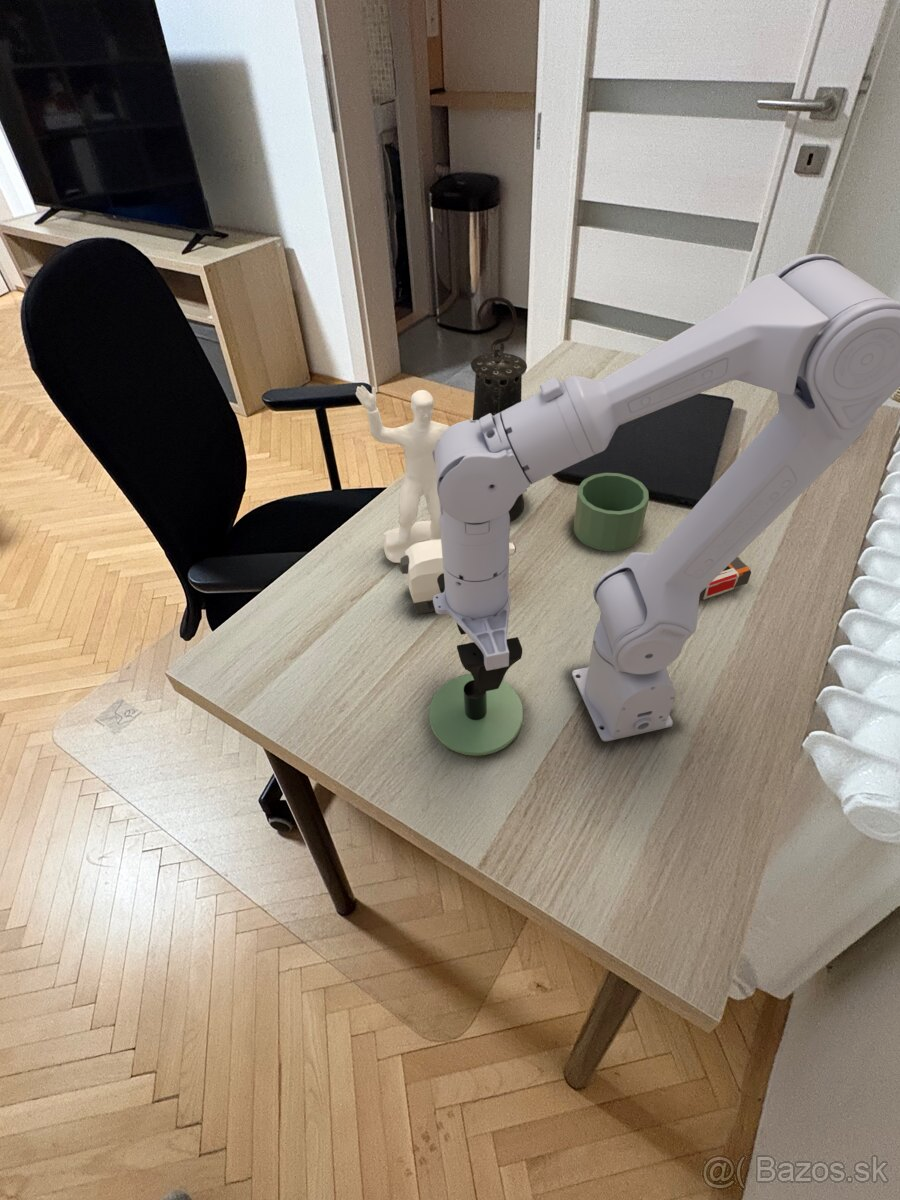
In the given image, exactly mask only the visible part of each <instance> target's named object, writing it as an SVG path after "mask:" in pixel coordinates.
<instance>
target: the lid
mask: <svg viewBox="0 0 900 1200" xmlns="http://www.w3.org/2000/svg"><path fill="white" fill-rule="evenodd" d="M428 718H429V719H428V720H429V725H430V727H431V730H432V732H433V734H434V736H435V737H436V739H437V740H439V742H440V743H441V744H443V746H445V747H446V748H447V749H449V750H451V751H453V752H456V753H458V754H462V755H465V756H486V755H491V754H494V753H496V752H499V751H501V750H503V749H504V748H506V747H507V746H509V744H511V743H512V742H513V741H514V740H515V739H516V738H517V736H518V734H519V732H520V731H521V728H522V725H523V720H524V708H523V703H522V699H521V698H520V696H519V694H518V692H517V691H515V689H514V688H513V687H512V686H511V685H510V684H508V682H506V681H504V679H503V680H502V682H501V684H500V686H499V688H498V689H495V690H490V691H485V692H479V691H478V690H477V688H476V685H475V682H474V679H473V676H472V674H471V673H467V674H463V675H458V676H457V677H454V678H452V679H450V680H448V681H447V682H445V683H444V684H442V685H441V686H440V687H439V688H438V689H437V691H436V692H435V694H434V695H433V697H432V699H431V701H430V705H429V710H428Z"/></svg>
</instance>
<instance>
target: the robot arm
mask: <svg viewBox="0 0 900 1200" xmlns="http://www.w3.org/2000/svg"><path fill="white" fill-rule="evenodd" d="M732 381H738V382H742V383H746V384H749V385H753V386H755V387H759V388H763V389H766V390H769V391H772V392H776V395H777V404H778V411H777V413H776V414H775V415H774V417H772V419H771V420H770V421H769V422H768V423H766V425H765V427H764V428H763V429H762V430H761V431H760V432H759V433H758V434H757V435H756V437H755V438H754V439H753V440H752V441H751V442H750V443H749V444H748V445H747V447H746V448H745V449H744V450H743V451H742V452H741V453H740V454H739V456H738V457H737V458H736V459H735V460H733V462H732V464H731V465H730V466H728V468H727V469H726V470H725V471H724V472H723V473H722V475H720V477H719V478H718V479H717V480H716V482H714V484H713V485H712V486H711V487H710V488H709V489H708V490H707V492H706V493H705V494H704V495H703V496H702V497H701V498H700V499H699V501H697V503H696V504H695V505H694V506H693V507H692V509H690V510H689V512H688V513H687V514H686V515H685V516H684V517H683V518H682V519H681V521H680V522H679V523H678V524H677V525H676V526H675V527H674V528H673V530H671V532H670V533H669V534H668V535H667V537H666V538H665V539H664V540H663V541H662V542H661V543H660V544H659V545H658V546H657V548H656V549H655V550H654V551H653V552H652V553H649V552H637V551H633V552H631V553H630V554H629V555H628V556H627V557H626V558H625V559H624V560H623V561H622V562H621V563H620V564H619V565H617V566H616V567H613V568H612V569H610V570H608V571H606V572H605V573H603V574H602V575H601V576H600V577H599V578H598V579H597V581H596V582H595V584H594V586H593V591H592V594H593V598H594V601H595V602H596V603H595V604H596V605H597V606H598V608H599V612H600V615H599V620H598V622H597V623H596V626H595V628H594V633H593V638H592V643H591V644H592V645H591V651H590V655H589V662H588V666H587V667H582V668H577V669H573V670H572V671H571V677H572V679H573V681H574V683H575V685H576V687H577V689H578V692H579V694H580V697H581V698H582V700H583V703H584V705H585V707H586V709H587V712H588V713H589V715H590V718H591V720H592V723H593V725H594V727H595V729H596V731H597V734H598V736H599V738H600V740H601V741H602V742H605V743H606V742H611V741H616V740H619V739H624V738H628V737H632V736H637V735H642V734H645V733H649V732H656V731H658V730H663V729H667V728H670V727H672V726H673V724H674V721H673V719H672V717H671V716H670V715H671V714H670V713H671V711H672V708H673V705H674V703H675V699H676V697H677V692H676V689H675V686H674V684H673V682H672V680H671V677H670V676H669V672H668V669H667V668H668V667H669V666H671V665H672V664H673V663H674V662H675V661H676V660H677V659H678V658H679V656H680V655H681V653H682V650H683V647H684V645H685V643H686V642H687V640H689V638H691V637H692V636H693V635H694V634H695V633H696V631H697V627H698V617H699V616H698V614H699V606H700V605H699V604H700V603H699V602H700V599H699V596H700V593H701V592H702V591H703V590H704V589H705V588H706V587H707V586H708V585H709V584H710V583H711V582H712V581H713V580H714V579H715V578H716V577H717V576H718V575H719V574H720V573H721V572H722V571H723V570H724V569H725V568H726V567H727V566H728V565H729V564H730V563H731V562H732V561H733V560H734V559H735V558H736V557H737V556H740V555H741V554H742V553H743V552H744V551H745V549H747V548H748V547H749V546H750V545H751V544H752V543H753V542H754V541H755V540H756V539H757V538H758V537H759V536H760V535H762V533H763V532H764V531H765V530H766V529H767V528H768V527H769V526H770V525H771V524H772V523H773V522H775V521H776V519H777V518H778V517H779V516H780V515H781V514H783V513H784V511H786V509H788V507H790V506H791V505H792V504H793V503H794V502H795V501H796V500H797V499H798V498H799V497H800V496H801V495H802V494H803V493H804V492H805V491H806V490H807V489H808V488H810V486H811V485H812V484H813V483H814V482H816V480H817V479H818V478H819V477H821V475H822V474H823V473H824V472H825V471H826V470H828V469H829V467H830V466H831V465H833V464H834V462H836V460H838V459H839V457H840V456H842V455H843V454H844V453H845V452H846V451H847V450H848V449H849V448H850V447H851V446H853V444H854V443H855V442H856V441H857V440H858V439H859V438H860V437H861V436H862V434H863V433H864V432H865V431H866V430H867V428H868V426H869V425H870V423H871V421H872V420H873V418H874V416H875V415H876V413H877V411H878V409H879V408H880V407H882V405H884V404H885V402H887V401H888V399H889V398H891V397H892V396H893V395H894V393H895V392H897V390H899V389H900V301H899V300H896V299H893V298H891V297H890V296H888V295H886V293H884V292H882V291H881V290H880V289H878V288H877V287H875V286H873V285H872V284H870V283H868V282H867V281H866V280H864V279H863V278H861V277H860V276H858V275H857V274H855V273H854V272H852V271H851V270H849V269H848V268H847V267H846V266H845V265H844V263H842V261H841V260H839V259H838V258H837V257H834V256H833V255H830V254H826V253H811V254H807V255H803V256H801V257H798V258H795V259H793V260H791V261H790V262H788V263H787V264H785V265H784V266H783V267H781V268H780V269H778V271H776V272H771V273H768V274H765V275H761V276H760V277H757V278H754V279H753V280H752V281H750V282H749V284H748V285H747V286H746V287H745V288H743V290H742V291H741V292H740V293H739V294H738V295H737V296H736V297H735V298H734V300H733V301H732V302H730V303H729V304H728V305H727V306H725V307H723V308H722V309H720V310H718V311H716V312H714V313H713V314H711V315H709V316H708V317H706V318H704V319H703V320H701V321H699V322H698V323H696V324H694V325H692V326H691V327H689V328H687V329H686V330H684V331H682V332H680V333H679V334H677V335H675V336H674V337H672V338H670V339H668V340H667V341H665V342H663V343H662V344H659V345H658V346H656V347H655V348H653V349H651V350H649V351H647V352H646V353H644V354H642V355H640V356H639V357H637V358H635V359H634V360H632V361H630V362H629V363H626V364H625V365H624V366H621V367H620V368H618V369H616V370H615V371H613V372H611V373H610V374H608V375H606V376H605V377H602V378H600V379H594V378H590V377H587V376H582V375H577V374H572V375H570V376H569V377H567V378H564V379H563V380H560V381H559V378H558V377H557V376H553V377H551V378H549V379H547V380H545V381H543V382H541V383H540V384H539V388H540V391H539V392H537V393H535V394H533V395H531V396H529V397H527V398H525V399H523V400H521V402H519V403H517V404H515V405H513V406H511V407H509V408H507V409H505V410H504V411H502V412H500V413H498V414H496V415H494V416H492V414H491V413H489V414H488V415H486V416H484V417H482V418H480V419H479V420H473V419H471V420H470V419H465V420H462V421H459V422H456V423H453V424H452V425H450V426H449V428H447V429H446V430H445V431H444V432H443V433H442V434H441V439H438V440H437V443H436V446H435V449H434V450H433V452H432V454H433V459H434V462H435V469H436V483H437V493H438V497H439V503H440V512H441V514H440V532H441V545H442V557H443V569H444V573H442V574H441V575H439V576H438V578H437V582H438V585H439V589H440V592H441V594H437V595H434V597H433V600H432V604H433V605H434V612H435V614H437V615H441V616H443V615H449V616H450V617H451V618H452V619H453V620H454V622H455V623H456V626H457V629H458V631H459V633H460V635H467V636H468V638H470V639H471V641H472V642H468V643H467V642H466V643H463V644H458V645H456V650H457V654H458V656H459V657H458V658H459V660H460V664H461V665H462V666H463V668H464V670H466V671H467V672H469V674H472V676H473V679H474V682H475V685H476V688H477V690H478V691H479V692H485V691H490V690H495V689H498V688H499V686H500V684H501V682H502V680H503V681H504V677H505V675H506V673H507V672H508V670H509V669H510V668H511V667H512V666H513V665H514V664H516V663H517V662H518V661H520V660H521V659H522V656H523V647H522V645H521V641H520V639H519V637H518V636H515V637H511V638H508V628H509V617H510V608H511V591H510V588H509V578H510V577H509V576H510V557H509V542H510V536H511V533H510V530H511V529H510V528H511V521H510V516H509V512H508V511H509V510H510V509H511V508H512V507H513V505H514V503H515V501H516V499H517V498H518V496H520V495H521V494H522V495H523V494H525V493H526V492H528V489H529V488H531V485H533V484H535V483H537V482H540V481H542V480H544V479H545V478H548V477H551V476H553V475H555V474H557V473H558V472H561V471H563V470H565V469H567V468H569V467H571V466H574V465H576V464H578V463H581V462H583V461H585V460H587V459H589V458H591V457H594V456H596V455H599V454H600V453H602V452H604V451H605V450H606V449H607V448H608V446H609V444H610V443H611V440H612V438H613V436H614V434H615V432H616V431H617V429H618V427H619V426H621V425H624V424H627V423H629V422H631V421H634V420H636V419H639V418H641V417H644V416H646V415H649V414H652V413H654V412H656V411H659V410H661V409H664V408H666V407H670V406H672V405H674V404H677V403H679V402H681V401H685V400H687V399H689V398H693V397H694V396H696V395H699V394H701V393H704V392H707V391H710V390H711V389H714V388H717V387H719V386H721V385H724V384H727V383H728V382H732ZM601 728H602V729H601Z"/></svg>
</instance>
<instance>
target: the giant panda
mask: <svg viewBox="0 0 900 1200" xmlns="http://www.w3.org/2000/svg"><path fill="white" fill-rule="evenodd" d="M516 552H517V547H516V544H515V543H514V542H510V541H509V558H510V557H512V556H514V555H515V553H516ZM399 564H400V565H399V571H400V573H401V574H402V575H406V581H407V586H408V590H409V594H410V597H411V599H412V601H413V602H412V603H413V608H414V611H415V612H416V614H419V615H420V614H427V613H431V612H433V611H434V612H435V608H434V604H433V597H434V595H437V594H441V592H440V589H439V585H438V582H437V578H438V576H439V575H441V574H442V573H444V569H443V557H442V545H441V539H439V540H428V541H424V542H419V543H416V544H414V545H412V546H410V547H409V548H408V549H407V550H406V551H405V556H404V557H402V558H401V561H400V563H399Z"/></svg>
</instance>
